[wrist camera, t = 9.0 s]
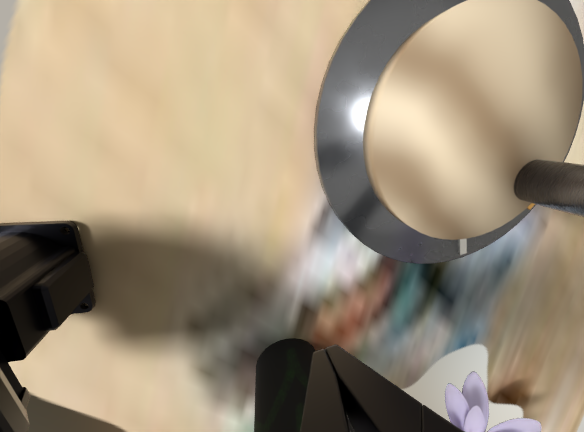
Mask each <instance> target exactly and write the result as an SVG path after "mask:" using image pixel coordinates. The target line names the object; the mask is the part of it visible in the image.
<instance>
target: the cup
mask: <svg viewBox="0 0 584 432" xmlns="http://www.w3.org/2000/svg"><path fill="white" fill-rule="evenodd" d="M315 351H316V350H315V349H314V347H313V346H312V345H310V344H309V343H308V342H306V341H303V340H300V339H285V340H281V341H278V342H276V343H274V344H272V345H270V346H269V347H268V348H266V349H265V350H264V351H263V353H262V354H261V355H260V357H259V359H258V361H257V365H256V388H255V422H254V432H300V430H301V423H302V417H303V411H304V405H305V399H306V393H307V386H308V380H309V374H310V368H311V362H312V356H313V353H314V352H315ZM347 418H348V417H347ZM348 422H349V426H350V430H351V432H354V430H353V427H352V425H351V423H350V421H349V419H348Z"/></svg>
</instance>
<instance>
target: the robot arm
mask: <svg viewBox="0 0 584 432" xmlns="http://www.w3.org/2000/svg"><path fill="white" fill-rule="evenodd" d="M64 227H67V228H68V229H69V230H70V232H66V231H65V230H64ZM93 287H94V284H93V280H92V276H91V272H90V267H89V263H88V259H87V255H86V254H85V253H84V252H83V249H82V245H81V241H80V236H79V232H78V228H77V226H76V225H75V224H74V223H73V222H70V221H55V222H29V223H3V224H0V432H28V429H29V426H30V424H29V420H28V415H27V411H26V407H27V405H28V402H29V399H30V394H29V392H28V390H27V389H26V388H25V387H22V386H21V384H20V383H19V381H18V379H17V378H16V376H15V374H14V373H13V371H12V369H11V367H10V366H9V364H8V362H11V361H19V360H23V359H25V358H26V357H27V355H28V354H29V353H30V352H31V351H32V350H33V349H34V348H35V347H36V345H37V344H38V343H39V342H40V341H41V340H42V339H43V338H44V337H45V335H46V334H47V333H48V332H49V331H50V330H56V329H58V327H59V326H60V325H61V324H62V323H63V322H64V321H65V320H66V318H67V317H68V316H69V315H70V314H74V313H85V312H89V311H91V310H92V308H93V307H94V306H95V299H94V294H93V290H92V289H93ZM83 303H86V304H88V306H86V305H84V304H83ZM347 417H348V418H347ZM348 419H349V421H350V423H351V425H352V427H353V429H354V431H355V432H465V431H463V430H461V429H460V428H458V427H456V426H455V425H453V424H452V423H450V422H449V421H447V420H446V419H444V418H443V417H441V416H439V415H438V414H436V413H435V412H434V411H432V410H431V409H429V408H428V407H426V406H425V405H423V406H422V404H421V403H420V402H419V401H417V400H416V399H414V398H413V397H411V396H410V395H408V394H407V393H406V392H404V391H403V390H401V389H400V388H398V387H397V386H396V385H394V384H393V383H391V382H390V381H388V380H387V379H385V378H384V377H383V376H381V375H380V374H378V373H377V372H375V371H374V370H373V369H371V368H370V367H368V366H367V365H365V364H364V363H362V362H361V361H360V360H358V359H357V358H355V357H354V356H352V355H351V354H350V353H348V352H347V351H345V350H344V349H342V348H341V347H339V346H338V345H333V346H330V347H327V348H326V349H321V350H318V351H315V352H314V353H313V356H312V362H311V368H310V374H309V380H308V386H307V393H306V399H305V405H304V411H303V417H302V423H301V430H300V432H351V430H350V426H349V422H348Z"/></svg>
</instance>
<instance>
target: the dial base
mask: <svg viewBox="0 0 584 432" xmlns="http://www.w3.org/2000/svg"><path fill="white" fill-rule="evenodd" d="M465 1H467V0H370V1H369V2H368V3H367V4H366V5H365V6H364V8H363V9H362V10H361V11H360V12H359V13H358V15H357V16H356V17H355V18H354V19H353V21H352V22H351V24H350V25H349V27H348V29H347V30H346V32H345V33H344V35H343V36H342V38H341V39H340V41H339V43H338V45H337V47H336V49H335V51H334V53H333V55H332V57H331V59H330V62H329V64H328V67H327V70H326V73H325V75H324V78H323V81H322V84H321V88H320V93H319V97H318V101H317V106H316V114H315V124H314V151H315V158H316V165H317V171H318V174H319V178H320V181H321V185H322V188H323V191H324V193H325V195H326V197H327V200H328V202H329V204H330V206H331V207H332V209H333V211H334V212H335V214H336V216H337V217H338V219H339V220H340V221H341V222H342V223H343V225H344V226H345V227H346V228H347V229H348V230H349V231H350V232H351V233H352V234H353V235H354V236H355V237H356V238H357V239H359V240H360V241H361V242H362V243H363V244H364V245H366V246H368V247H369V248H371V249H372V250H374V251H375V252H377V253H379V254H382V255H384V256H386V257H389V258H391V259H395V260H399V261H403V262H409V263H418V264H421V263H438V262H445V261H450V260H453V259H457V258H461V257H464V256H466V255H469V254H471V253H474V252H476V251H478V250H480V249H482V248H484V247H486V246H488V245H490V244H491V243H493V242H494V241H496V240H497V239H499V238H500V237H502V236H503V235H505V234H506V233H507V232H508V231H510V230H511V229H512V228H513V227H514V226H516V225H517V224H518V223H519V222H520V221H521V220H522V219H523V218H524V217H525V216H526V215H527V214H528V213H529V212H530V211H531V210H532V209H533V208H534V206H535V205H536V204H534V203H532V204H530V205H529V206H528V207H527V208H526V209H525V210H524V211H523V212H521V213H520V214H519V215H518V216H516V217H515V218H514V219H512V220H511V221H509V222H507V223H506V224H504V225H503V226H501V227H499V228H497V229H495V230H493V231H491V232H488V233H485V234H482V235H480V236H476V237H472V238H467V239H457V240H449V239H439V238H435V237H430V236H428V235H425V234H422V233H420V232H418V231H417V230H415V229H413V228H411V227H410V226H408V225H406V224H405V223H403V222H401V221H400V220H398V219H397V218H396V217H394V216H393V215H392V214H391V213H389V212H388V210H387V209H386V208H385V207H384V206H383V205H382V204H381V202H380V201H379V199H378V198H377V196H376V195H375V193H374V190H373V188H372V186H371V184H370V182H369V178H368V175H367V172H366V168H365V162H364V156H363V132H364V123H365V117H366V112H367V108H368V105H369V101H370V98H371V95H372V92H373V90H374V87H375V85H376V83H377V81H378V78H379V76H380V75H381V73H382V71H383V69H384V68H385V66H386V64H387V62H388V61H389V60H390V58H391V57H392V56H393V54H394V53H395V51H396V50H397V49H398V47H399V46H400V45H401V44H402V43H403V42H404V41H405V40H406V39H407V38H408V37H409V36H410V35H411V34H412V33H413V32H414V31H416V30H417V29H418V28H419V27H421V26H422V25H423V24H424V23H426V22H428V21H429V20H431V19H432V18H434V17H436V16H437V15H439V14H441V13H443V12H445V11H446V10H448V9H450V8H452V7H454V6H456V5H458V4H460V3H462V2H465ZM538 1H540V2H542V3H544V4H545V5H547V6H548V7H549V8H550V9H551V10H553V11H554V12H555V13H556V14H557V15H558V16H559V17H560V19H561V20H562V21H563V22H564V23H565V25H566V27H567V28H568V30H569V32H570V33H571V35H572V37H573V40H574V42H575V45H576V47H577V50H578V54H579V58H580V62H581V70H582V102H581V110H580V115H579V119H578V124H579V120H580V117H581V112H582V107H583V101H584V44H583V37H582V34H581V30H580V26H579V23H578V19H577V17H576V14H575V12H574V10H573V8H572V5H571V3H570V1H569V0H538ZM578 124H577V127H578ZM577 127H576V131H577ZM576 131H575V134H576ZM575 134H574V137H575ZM574 137H573V140H574ZM573 140H572V142H573ZM572 142H571V145H572ZM571 145H570V147H569V150H570V148H571ZM569 150H568V152H567V154H566V156H565V158H564V160H563V162H564V161H565V159H566V157H567V155H568V153H569Z"/></svg>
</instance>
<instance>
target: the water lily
mask: <svg viewBox="0 0 584 432" xmlns="http://www.w3.org/2000/svg"><path fill="white" fill-rule="evenodd" d="M445 402H446V408H447V412H448V416H449V419H450V422H451V423H452V424H453V425H455V426H456V427H458V428H460V429H461V430H463V431H465V432H485V430H486V427H487V423H488V417H489V402H488V395H487V392H486V388H485V386H484V383H483V381H482V380H481V378H480V377H479V375H478V374H477V373H476V372H475V371H472V372H471V373H470V374H469V375H468V376H467V378H466V380H465V382H464V385H463V390H462V393H461V392H460V391H459V390H458V389H457V388H456V387H455V386H454V385H452V384H451V383H448V384H447V387H446V391H445ZM487 432H541V423H540V422H539V421H537V420H534V419H528V418H517V419H511V420H507V421H505V422H502V423H500V424H498V425H496V426H494V427H492V428H491V429H489V430H488V431H487Z"/></svg>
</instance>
